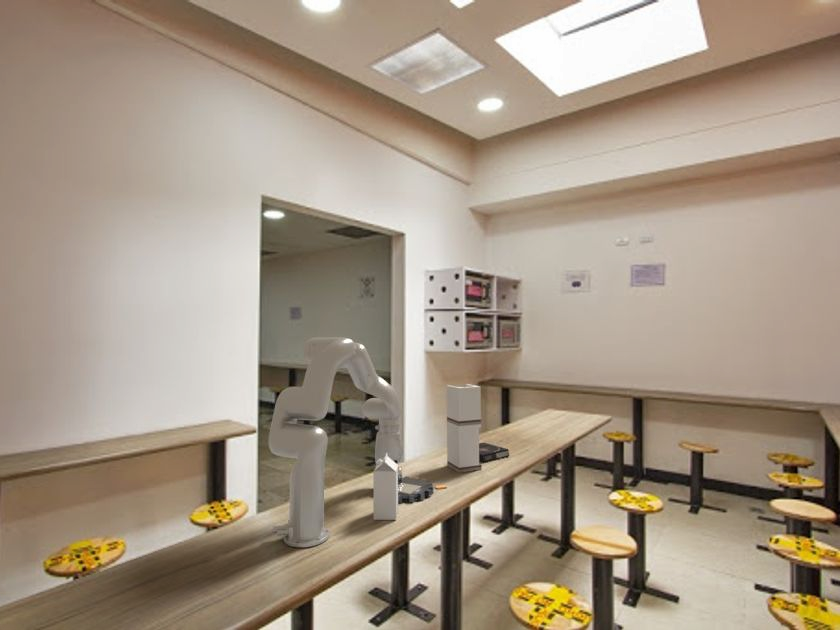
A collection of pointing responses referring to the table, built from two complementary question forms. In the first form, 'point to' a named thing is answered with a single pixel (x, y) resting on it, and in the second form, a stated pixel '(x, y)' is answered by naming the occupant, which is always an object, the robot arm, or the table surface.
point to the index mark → (440, 487)
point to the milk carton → (385, 489)
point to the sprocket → (412, 488)
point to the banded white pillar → (463, 427)
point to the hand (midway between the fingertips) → (389, 477)
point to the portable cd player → (491, 452)
